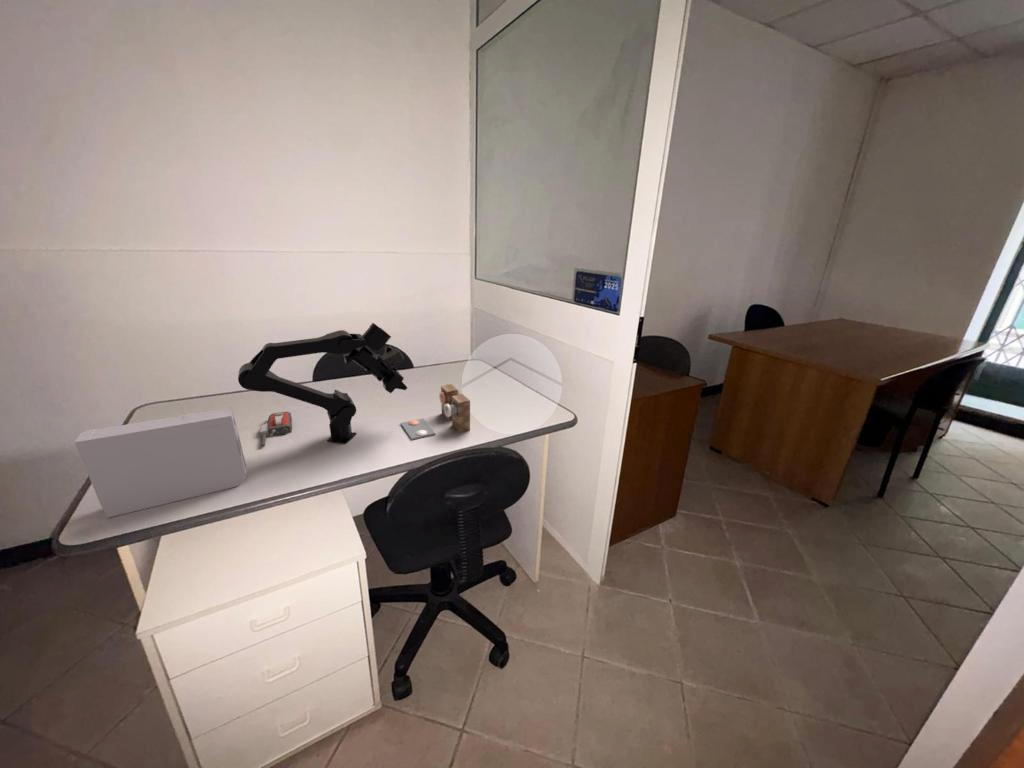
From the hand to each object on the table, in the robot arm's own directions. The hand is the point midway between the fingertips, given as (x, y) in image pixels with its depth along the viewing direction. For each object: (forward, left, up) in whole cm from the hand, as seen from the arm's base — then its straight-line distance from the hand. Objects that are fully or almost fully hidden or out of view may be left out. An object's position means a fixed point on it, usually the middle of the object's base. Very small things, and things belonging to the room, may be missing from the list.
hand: (406, 388), depth 132 cm
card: (-3, -5, -13) cm, 14 cm away
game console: (-48, +39, -14) cm, 63 cm away
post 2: (+2, -18, -13) cm, 23 cm away
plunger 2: (+1, -17, -8) cm, 19 cm away
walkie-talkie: (-15, +39, -14) cm, 44 cm away
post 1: (+10, -12, -13) cm, 20 cm away
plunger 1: (+10, -12, -8) cm, 18 cm away
